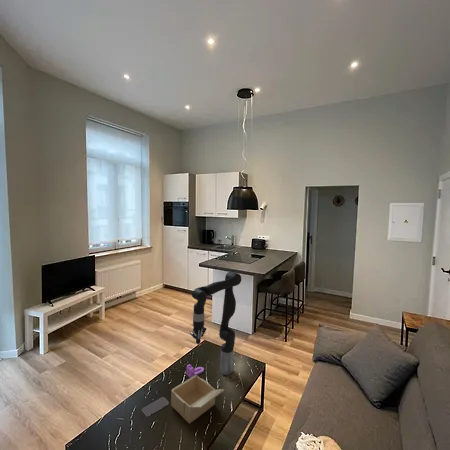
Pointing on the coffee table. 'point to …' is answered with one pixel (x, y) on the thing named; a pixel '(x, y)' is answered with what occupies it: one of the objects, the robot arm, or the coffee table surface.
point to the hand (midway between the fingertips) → (198, 343)
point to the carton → (191, 398)
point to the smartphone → (155, 406)
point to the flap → (207, 398)
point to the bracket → (193, 370)
